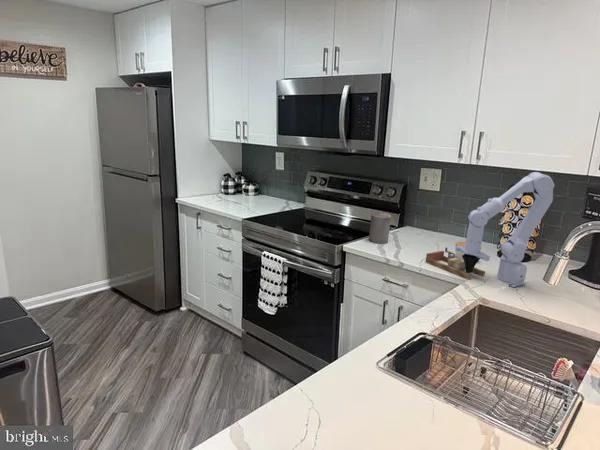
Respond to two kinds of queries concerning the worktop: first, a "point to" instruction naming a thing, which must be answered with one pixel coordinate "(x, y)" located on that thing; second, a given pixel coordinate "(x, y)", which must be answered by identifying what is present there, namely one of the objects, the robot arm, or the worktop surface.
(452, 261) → the tan wooden block
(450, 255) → the winch
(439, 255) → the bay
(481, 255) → the robot arm
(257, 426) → the worktop surface
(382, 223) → the pillar candle
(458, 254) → the lidded jar
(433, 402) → the worktop surface
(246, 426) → the worktop surface
